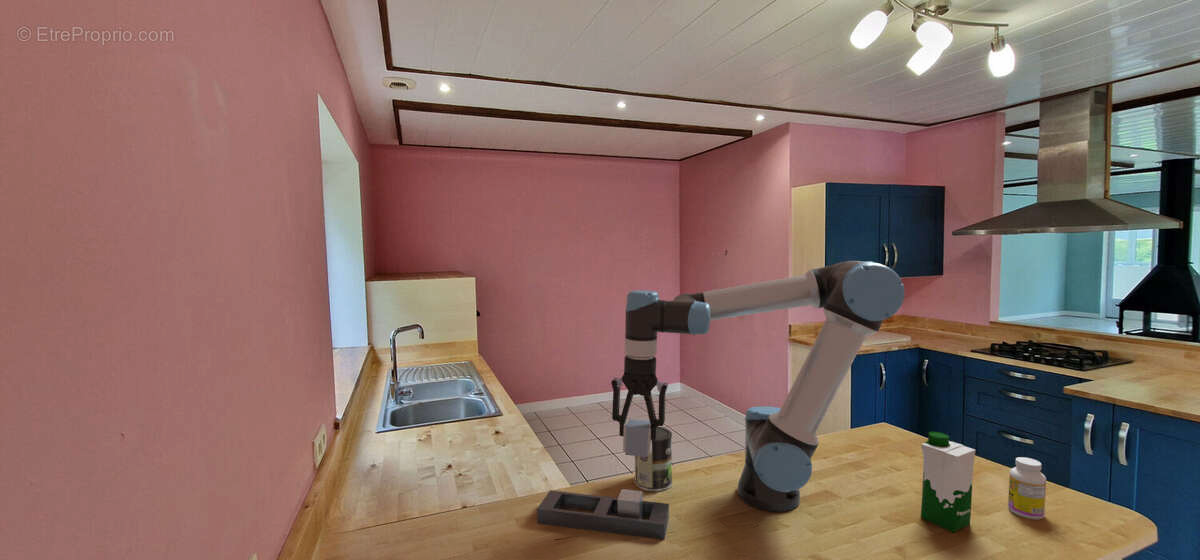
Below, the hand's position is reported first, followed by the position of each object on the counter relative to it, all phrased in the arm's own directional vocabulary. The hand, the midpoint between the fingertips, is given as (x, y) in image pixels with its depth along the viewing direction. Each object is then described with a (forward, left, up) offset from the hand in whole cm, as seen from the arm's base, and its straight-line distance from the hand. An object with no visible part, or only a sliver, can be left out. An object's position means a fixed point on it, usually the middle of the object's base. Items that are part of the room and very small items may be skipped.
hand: (637, 450), depth 119 cm
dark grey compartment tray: (+7, +5, -16) cm, 18 cm away
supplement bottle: (-91, -20, -16) cm, 94 cm away
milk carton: (-71, -12, -16) cm, 73 cm away
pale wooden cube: (+1, +5, -16) cm, 17 cm away
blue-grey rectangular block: (0, 0, 0) cm, 0 cm away
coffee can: (-2, -16, -16) cm, 23 cm away
